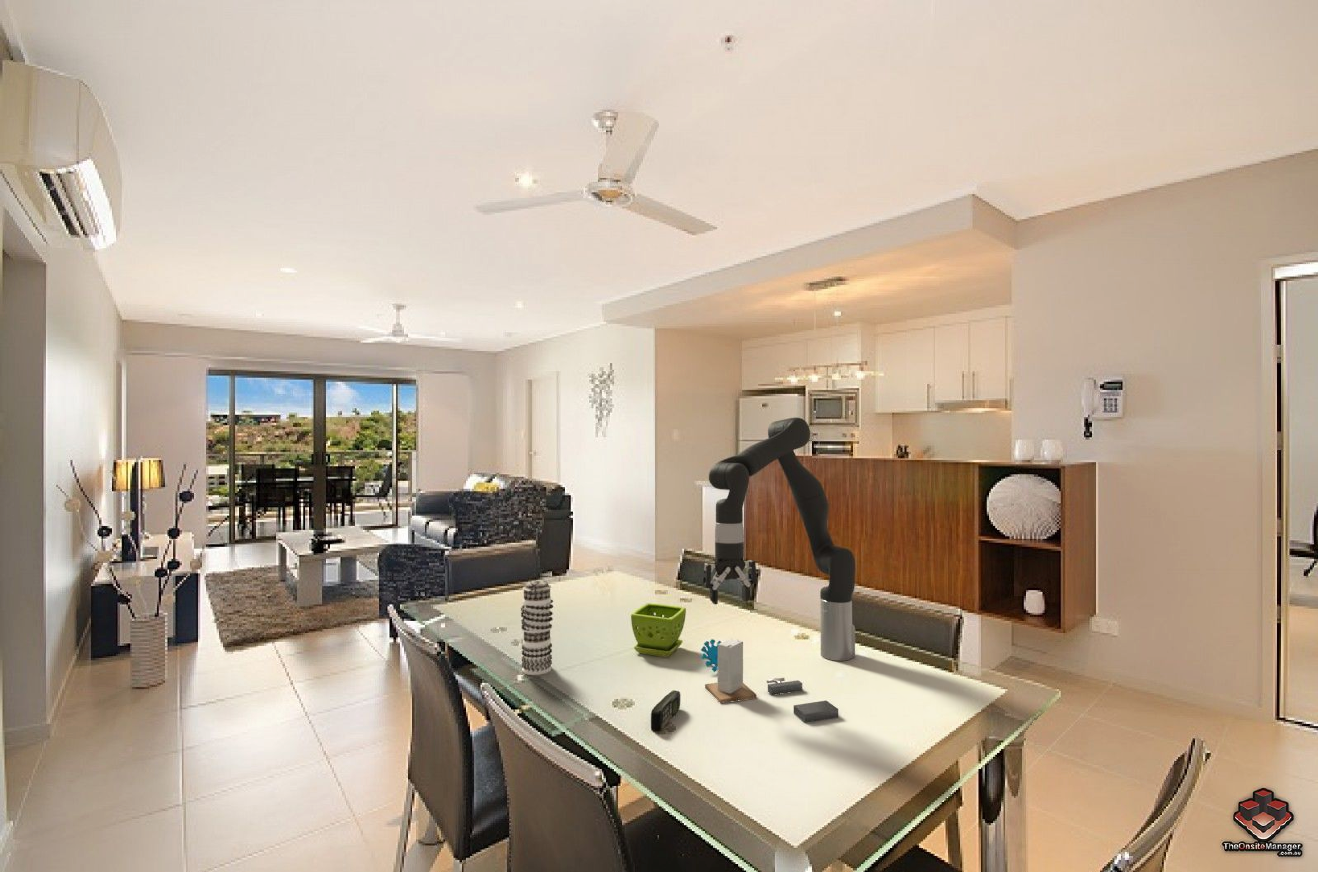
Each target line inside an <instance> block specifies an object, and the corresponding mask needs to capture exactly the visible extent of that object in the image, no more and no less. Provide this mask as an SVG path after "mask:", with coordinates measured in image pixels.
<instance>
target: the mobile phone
mask: <svg viewBox="0 0 1318 872" xmlns="http://www.w3.org/2000/svg"><path fill="white" fill-rule="evenodd" d="M680 708H681V691H679V690H675V689H674V690H672V691H670V692H669V693H668V694H666V695H665V696H664V697H663V698H662V699H661V700H660V701H659V702H657V704H656V705H655V706H654V707H653V708H652V710H651V713H650V729H651V731H653V732H656V733H660V732H662V730H663V729H664V728H665V727H666V725H667V724H668V723H669V722H670V721H671V720H672V719H673V718H675V717H674V716H677V714H678V713H679V711H680Z"/></svg>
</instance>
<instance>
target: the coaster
mask: <svg viewBox="0 0 1318 872" xmlns="http://www.w3.org/2000/svg"><path fill="white" fill-rule="evenodd" d="M704 687H705V690H706V691H707V692H708V691H709V692H710V693H711V694H712V695H713V696H714V697H715V698H716V699H717V700H718V701H717V700H716V699H715V698H714V697H713V696H712V695H711V694H710V695H711V696H712V697H713V698H714V699H715V700H716V701H717V702H718V703H719V702H720V703H721V704H724V703H723V702H728V703H732V702H731V701H735V702H739V701H738V700H742V701H746V700H745V699H749V700H752V699H751V698H756V699H757V697H758V696H757V693H756V692H754V691H753V690H752V689H751V688H750V687H748V686H747V685H746V684H745V682H743V687H741V688H740V689H738V690H736V691H735V692H733V693H731V694H729V693H725V692H722V691H720V690H718V682H712V683H705V684H704ZM709 692H708V693H709ZM720 703H719V704H720Z"/></svg>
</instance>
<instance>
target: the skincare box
mask: <svg viewBox="0 0 1318 872" xmlns="http://www.w3.org/2000/svg"><path fill="white" fill-rule="evenodd" d="M721 642H722V643H720V644H718V667H717V683H718V690H720V691H722V692H725V693H729V694H731V693H733V692H735V691H736V690H738V689H740V688H741V687H743V683H744V642H743V641H742V640H739V639H734V638H728V639H727V640H723V641H721Z"/></svg>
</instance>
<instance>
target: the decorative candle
mask: <svg viewBox="0 0 1318 872" xmlns="http://www.w3.org/2000/svg"><path fill="white" fill-rule="evenodd" d="M551 588H552V586H551V585H549V583H548V582H547V580H542V579H541V580H540V579H535V580H531V581H530V580H529V581H528V582H526V583H525V585H524V586H523V587H522V590H523V598H522V606H521V607H520V617H521V618H522V619H521V631H522V632H523V638H522V645H521V649H522V650H521V655H522V657H521V672H522V673H523V674H525V675H528V676H529V675H530V676H538V675H543V674H547V673H549V672H550V671H552V665H553V663H552V662H553V661H552V659H553V657H552V652H553V650H552V647H553V644H552V637H551V629H552V628H553V625H552V624H553V623H550V622H551V621H553V620H554V619H553V617H552V616H553V614H554V613H553V611H551V609H553V608H554V605H553V604H552V603H554V600H553V599H551V598H552V597H551Z"/></svg>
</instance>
